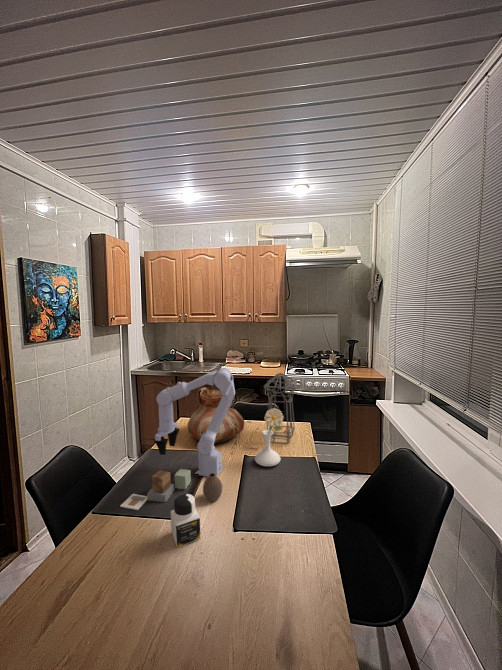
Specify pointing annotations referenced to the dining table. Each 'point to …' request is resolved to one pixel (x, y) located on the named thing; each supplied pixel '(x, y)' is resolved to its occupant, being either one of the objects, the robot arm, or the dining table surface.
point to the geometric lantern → (282, 401)
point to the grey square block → (160, 494)
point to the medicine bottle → (185, 520)
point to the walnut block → (161, 481)
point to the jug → (205, 413)
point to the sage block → (182, 478)
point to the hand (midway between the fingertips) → (167, 450)
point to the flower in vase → (267, 454)
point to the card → (134, 501)
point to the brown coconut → (212, 487)
